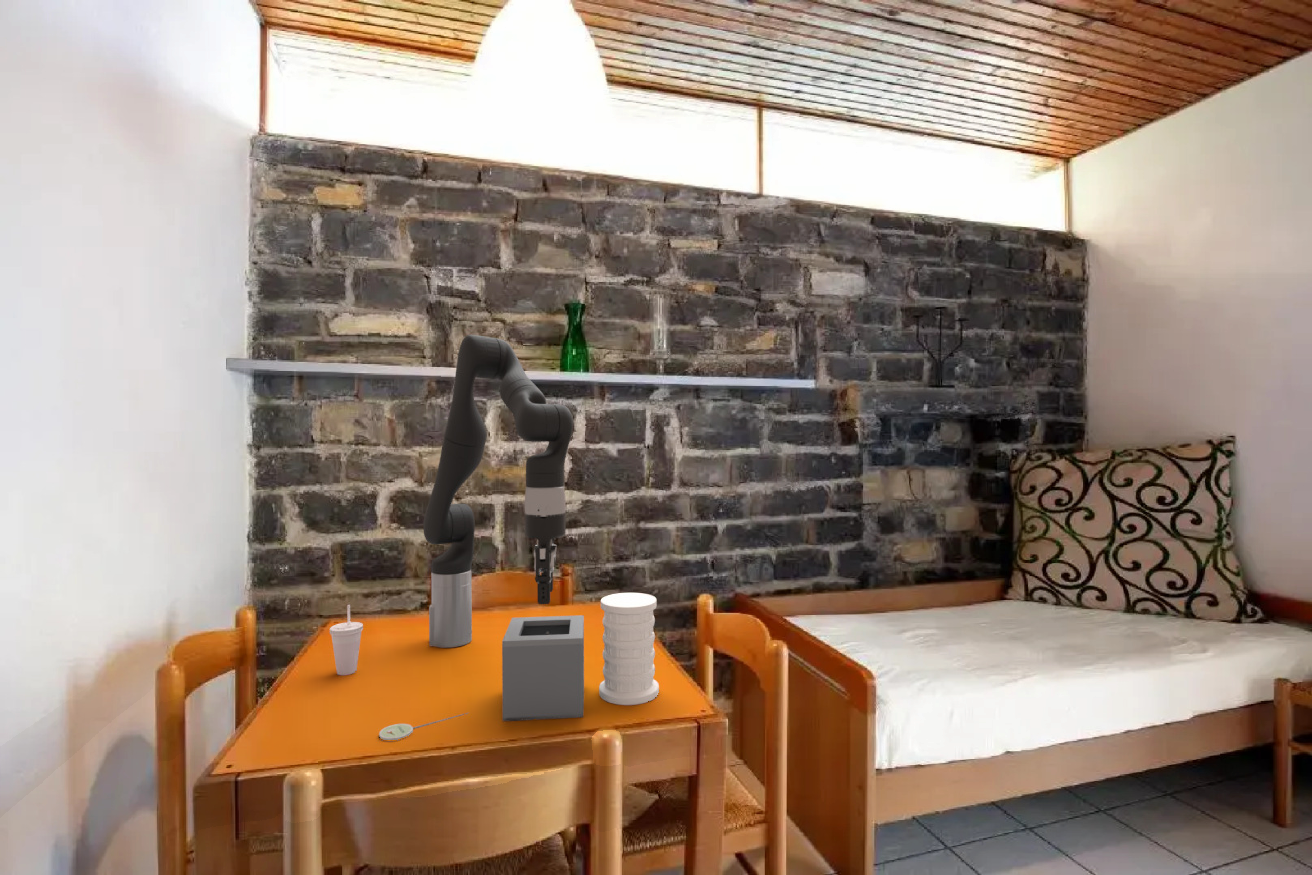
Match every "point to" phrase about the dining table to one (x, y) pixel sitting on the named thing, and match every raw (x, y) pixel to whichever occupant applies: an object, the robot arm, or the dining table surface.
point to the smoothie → (346, 645)
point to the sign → (401, 730)
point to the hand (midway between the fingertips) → (545, 597)
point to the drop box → (543, 668)
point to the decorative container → (628, 649)
